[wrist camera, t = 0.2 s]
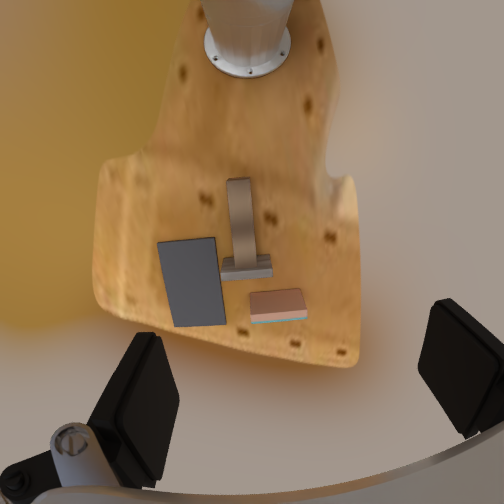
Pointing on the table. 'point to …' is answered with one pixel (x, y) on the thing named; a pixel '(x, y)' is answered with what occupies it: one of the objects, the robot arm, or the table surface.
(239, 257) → the scraper
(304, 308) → the tile
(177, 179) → the table surface
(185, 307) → the mat
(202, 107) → the table surface
